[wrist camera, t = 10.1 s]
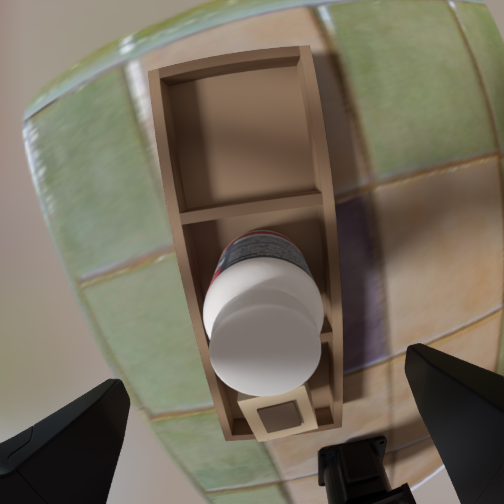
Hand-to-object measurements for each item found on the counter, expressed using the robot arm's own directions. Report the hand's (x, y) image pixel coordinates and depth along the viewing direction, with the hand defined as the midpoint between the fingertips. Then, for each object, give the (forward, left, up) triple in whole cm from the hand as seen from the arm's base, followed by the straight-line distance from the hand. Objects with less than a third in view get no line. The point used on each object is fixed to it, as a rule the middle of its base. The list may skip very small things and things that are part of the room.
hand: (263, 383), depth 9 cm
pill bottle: (0, 0, -11) cm, 11 cm away
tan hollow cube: (-8, 0, -11) cm, 14 cm away
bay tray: (0, 0, -11) cm, 11 cm away
